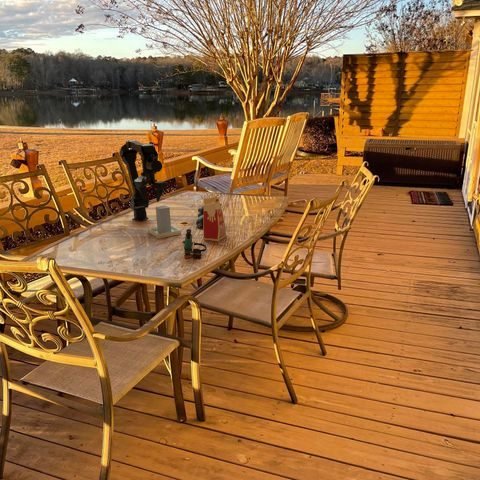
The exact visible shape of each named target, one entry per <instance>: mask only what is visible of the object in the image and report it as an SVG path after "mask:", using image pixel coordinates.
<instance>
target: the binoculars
mask: <svg viewBox="0 0 480 480" xmlns="http://www.w3.org/2000/svg"><path fill="white" fill-rule="evenodd" d="M185 232H186V233H185V235H184V240H182V242H181V243H182V244H183V249H184V250H183V251H184V255H183V258H184V259H188V258H191V257H193V258H198V259H199V258H202V253H203V252H206V251H208V250H207V249H208V248H207V245H206V244H204V243H200V242H195V241H193V234H192V229H190V228H188V229H186V231H185ZM195 246H201V247H203V249H202V248H201V249H200V248H195Z"/></svg>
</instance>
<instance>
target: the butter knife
mask: <svg viewBox="0 0 480 480" xmlns="http://www.w3.org/2000/svg"><path fill="white" fill-rule="evenodd" d="M180 252H181V250H180V249H179V250H175V251H173V252H172V253H171V254H170V255H169V256H167V257H168V258H167V257H166V258H165V259H164V260H166V261H168V260H169V259H171V258H173V257H175V255H177V254H179V253H180ZM167 259H168V260H167Z"/></svg>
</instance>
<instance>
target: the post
mask: <svg viewBox="0 0 480 480" xmlns="http://www.w3.org/2000/svg"><path fill="white" fill-rule="evenodd" d="M170 209H171V207H170V206H167V205H162V206H161V205H160V206H155V214H156V216H155V217H156V227H157V229H158V233H160V234H161V233H166V232H171V225H172V223H171V210H170Z"/></svg>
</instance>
